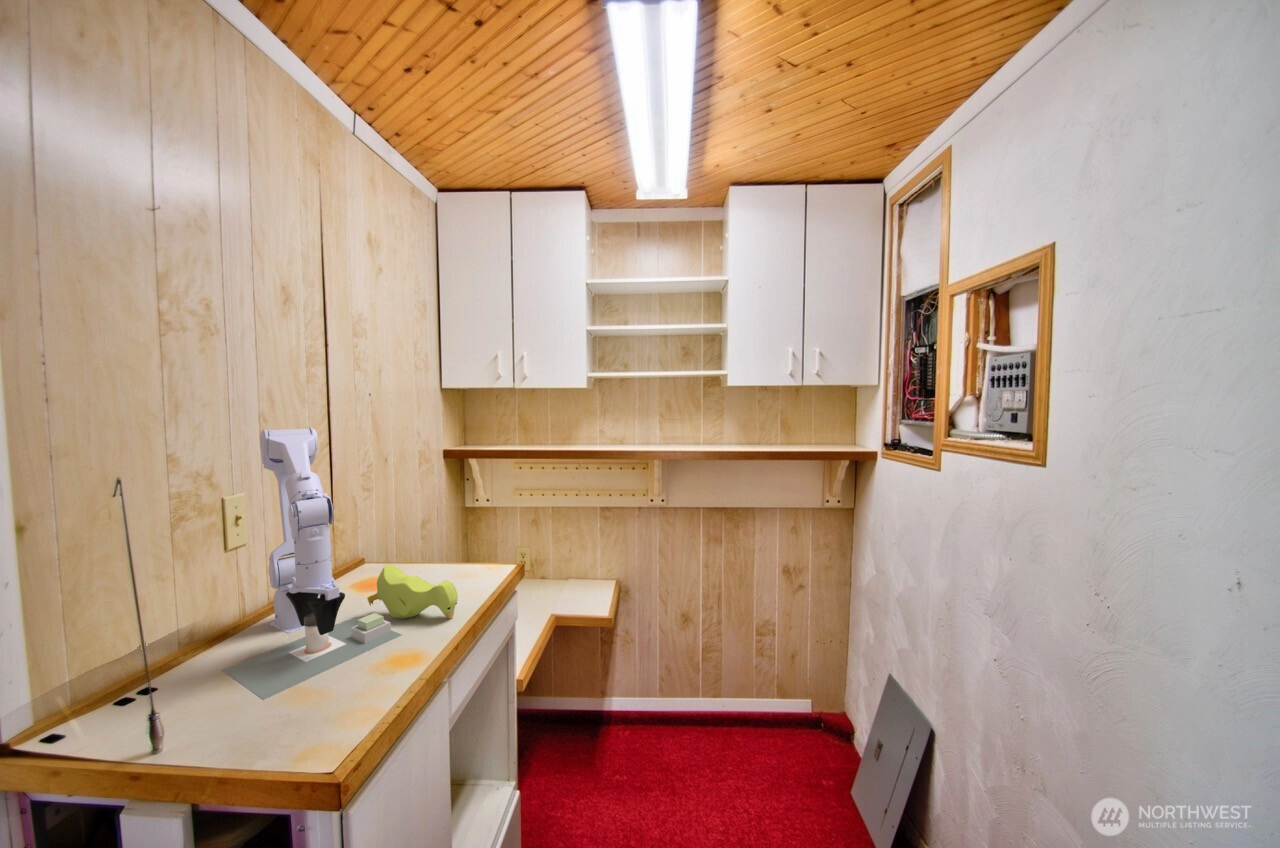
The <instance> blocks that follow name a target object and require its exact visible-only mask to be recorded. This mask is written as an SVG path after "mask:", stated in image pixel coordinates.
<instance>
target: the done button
mask: <svg viewBox="0 0 1280 848" xmlns="http://www.w3.org/2000/svg"><path fill="white" fill-rule="evenodd" d="M384 620H385V619H384V615H381V614H378V613H376V612H373V613H372V614H369V615H366V616H363V617H361V619H358V629H361V630H363V631H369V630H371V629H373V628H376V627H378V626H380V625H383V624H384Z"/></svg>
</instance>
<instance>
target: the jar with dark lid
mask: <svg viewBox="0 0 1280 848" xmlns="http://www.w3.org/2000/svg"><path fill="white" fill-rule="evenodd" d="M304 626H305V628H304V633H305V634H304V637H306V652H308V653H314V652H318V651H321V650H324V649H325V648H327V647H328V646H329V635H328V633H326V634H324V635H320V634H319V631H318V628H317V623H316V618H315V615H314V613H313V612H312V613H310V614H307V615H306V616H304Z"/></svg>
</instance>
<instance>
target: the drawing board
mask: <svg viewBox="0 0 1280 848" xmlns="http://www.w3.org/2000/svg"><path fill="white" fill-rule="evenodd" d="M361 618H362V617H361ZM361 618H360V617H359V616H355V617H351V618H349V619H346V620H344V621H342V622H339V623H335V625H334V629H333V631H331V632H329V633H328V635H329V646H328V647H327V648H325V649H324V650H321V651H318V652H314V653H308V652H306V637H305V636H303V637H301V638H297V639H295V640H293V641H290V642H288V643H285V644H283V645H281V646H278V647H275V648H273V649H270V650H267V651H265V652H262V653H260V654H258V655H255V656H252V657H251V658H250V657H249V658H247V659H246V660H242V661H240V662H237V663H235V664H233V665H230V666H227V667H225V668H222V669H221V672H224V673H225V674H226V675H228V676H229V677H231V678H232V679H233V680H234V681H237V682H238V684H241V685H242V686H243V687H245V688H246V689H247V690H249V691H250V692H251V693H253V694H254V695H256V696H257V697H258V698H260V699H262V700H263V701H264V700H267V699H269V698H271V697H273V696H275V695H277V694H279V693H281V692H284V691H285V690H287V689H289V688H292V687H294V686H296V685H298V684H300V683H302V682H305V681H307V680H310V679H312V678H313V677H316V676H317V675H320V674H322V673H324V672H326V671H328V670H330V669H333V668H335V667H337V666H339V665H342V664H343V663H345V662H347V661H350V660H352V659H354V658H356V657H358V656H360V655H362V654H365V653H367V652H369V651H371V650H373V649H375V648H377V647H379V646H382V645H384V644H387V643H388V642H391V641H392V640H395V639H398V638H399V637H400V636H403V633H399V632H397V631H394V630H392V623H391V621H388V620H385V619H384V624H383V625H380V626H378V627H376V628H373V629H371V630H369V631H363V630H361V629H358V619H361Z"/></svg>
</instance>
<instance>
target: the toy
mask: <svg viewBox="0 0 1280 848" xmlns="http://www.w3.org/2000/svg"><path fill="white" fill-rule="evenodd" d="M376 588H377V591H376V593H374V594H372V595H369V596H368V597H367V602H368V604H369V606H370V607H372V605H374V601H377V600H379V602H381V601H382V602H383V604H384V606H385V607H386V609H387V611H388V612H389V614H390V615H391V617H392V618H393V619H398V618H402V619H408V618H412V617H416V616H417V615H419V614H420V613H421V612H423V611H425V610H426V609H427V608H428V607H431V606H435V607H437V608H439V610H440V611H441V612H442V614H443V615H444V616H445V618H447V619H449V620H450V619H451V620H452V619H453V618H454V615H455V607H456V605H457V604H458V603H457V602H458V597H459V596H458V592H457V588H456V586H455V585H454V583H453V582H452V581H451V580H443V581H441V582H440V583H438V584H436V585H435V584H432V583H430V582H428V581H426V580H425V579H423V578H422V577H420V576H416V575H406V574H405V573H404V571H402V569H400V568H399V567H398V566H396V565H394V564H390V563H389V564H388V563H387V564H386V565H385V566H384V567H382V570H381V572H380V573H379V576H378V578H377V580H376Z"/></svg>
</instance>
